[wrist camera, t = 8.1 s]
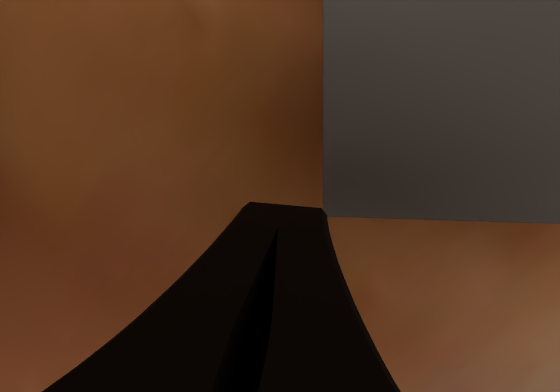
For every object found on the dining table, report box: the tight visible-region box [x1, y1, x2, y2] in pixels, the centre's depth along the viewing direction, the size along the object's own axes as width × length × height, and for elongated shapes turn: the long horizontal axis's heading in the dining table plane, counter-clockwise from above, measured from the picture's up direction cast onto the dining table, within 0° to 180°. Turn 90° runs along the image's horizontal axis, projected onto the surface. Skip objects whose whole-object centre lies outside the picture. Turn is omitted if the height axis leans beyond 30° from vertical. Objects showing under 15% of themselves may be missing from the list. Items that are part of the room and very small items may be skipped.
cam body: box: [323, 0, 560, 224], centre depth 13 cm, size 7×12×5 cm, turn 93°
